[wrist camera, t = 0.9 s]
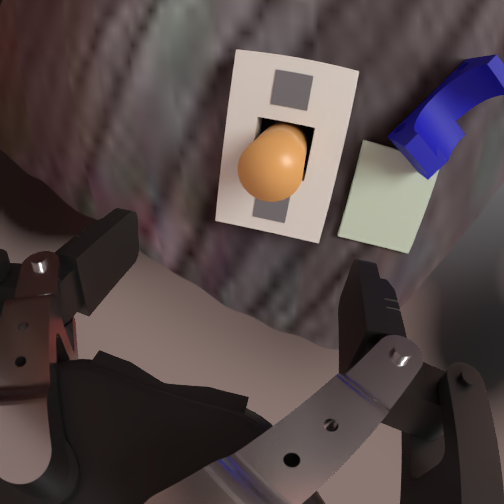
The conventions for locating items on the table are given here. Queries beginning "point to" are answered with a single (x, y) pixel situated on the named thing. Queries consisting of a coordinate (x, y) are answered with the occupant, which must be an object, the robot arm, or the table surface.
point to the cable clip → (447, 113)
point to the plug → (274, 162)
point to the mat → (385, 199)
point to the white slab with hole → (293, 111)
